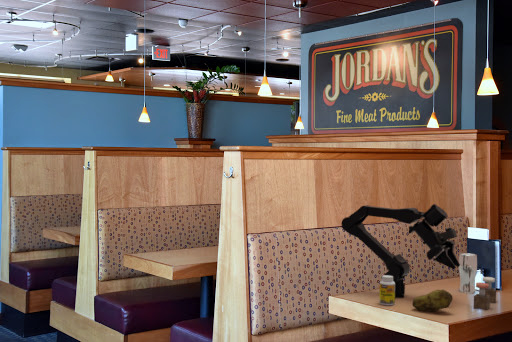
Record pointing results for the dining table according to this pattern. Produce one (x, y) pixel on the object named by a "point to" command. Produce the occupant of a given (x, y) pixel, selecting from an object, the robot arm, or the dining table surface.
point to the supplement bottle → (387, 290)
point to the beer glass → (467, 272)
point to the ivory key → (489, 281)
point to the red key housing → (482, 302)
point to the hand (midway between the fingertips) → (457, 267)
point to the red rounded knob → (482, 288)
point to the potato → (433, 301)
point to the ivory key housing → (491, 294)
